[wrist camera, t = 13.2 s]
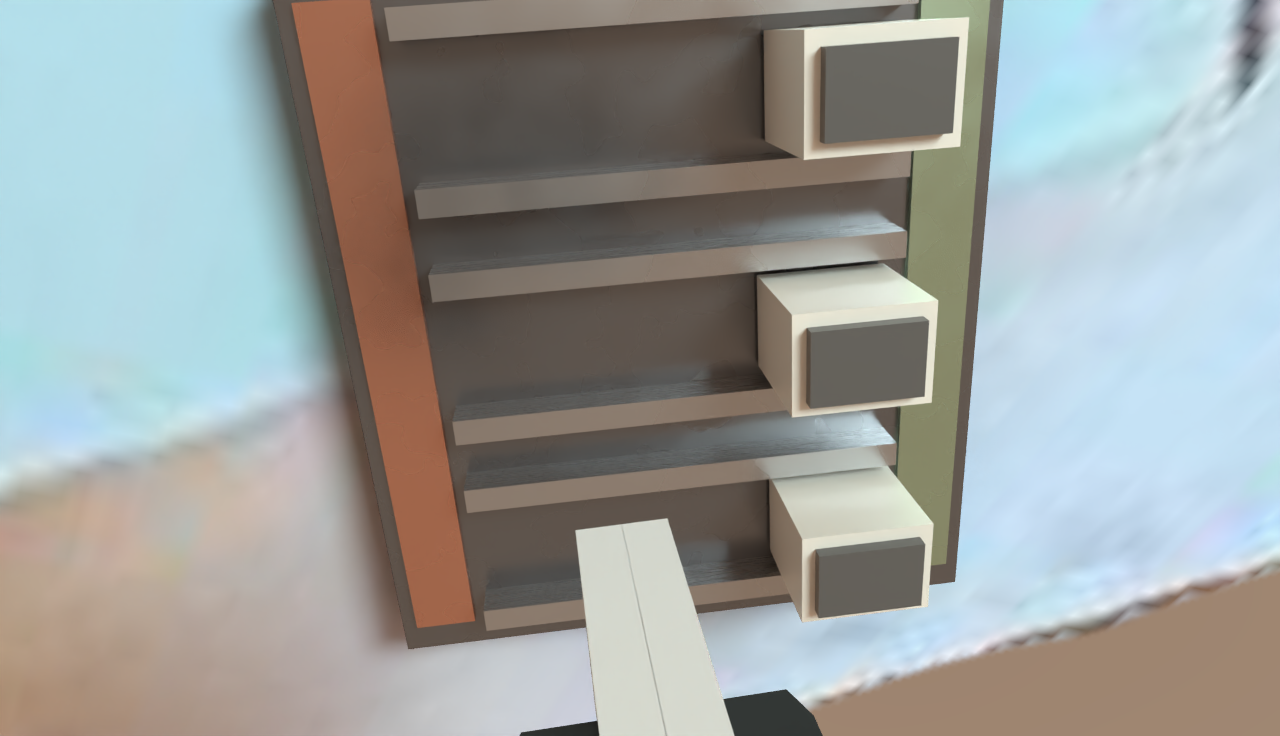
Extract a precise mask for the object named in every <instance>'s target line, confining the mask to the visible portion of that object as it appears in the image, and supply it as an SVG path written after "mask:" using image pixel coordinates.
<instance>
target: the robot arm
mask: <svg viewBox="0 0 1280 736" xmlns="http://www.w3.org/2000/svg"><path fill="white" fill-rule="evenodd" d="M575 531H576V540H577V549H578V558H579V567H580V576H581V585H582V594H583V603H584V612H585V621H586V630H587V639H588V648H589V657H590V666H591V674H592V683H593V691H594V700H595V709H596V717H597V721H593V722H587V723H580V724H574V725H567V726H561V727H554V728H548V729H541V730H535V731H528V732H522V733H521V734H520V736H822V733H821V731H820V729H819V727H818V724H817V722H816V720H815V718H814V716H813V715H812V714H811V713H810V712H809V711H808V710H807V709H806V708H805V707H804V706H803V705H802V704H801V703H800V702H799V701H798V700H797V699H796V698H795V697H794V696H793V695H792V694H790V693H789V692H788V691H787V690H780V691H773V692H767V693H760V694H754V695H747V696H740V697H734V698H727V699H723V697H722V694H721V691H720V687H719V684H718V681H717V678H716V674H715V671H714V668H713V665H712V662H711V658H710V655H709V652H708V649H707V645H706V642H705V639H704V636H703V632H702V629H701V626H700V623H699V619H698V616H697V613H696V610H695V607H694V603H693V600H692V597H691V594H690V590H689V587H688V584H687V581H686V577H685V574H684V571H683V568H682V564H681V561H680V558H679V555H678V551H677V548H676V545H675V542H674V539H673V535H672V532H671V529H670V526H669V522H668V519H667V518H666V519H658V520H650V521H643V522H635V523H627V524H620V525H612V526H604V527H597V528H589V529H582V530H575Z"/></svg>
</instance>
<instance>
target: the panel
mask: <svg viewBox="0 0 1280 736" xmlns="http://www.w3.org/2000/svg"><path fill="white" fill-rule="evenodd" d="M1003 1H1004V0H273V3H274V8H275V13H276V18H277V22H278V27H279V32H280V37H281V42H282V46H283V51H284V56H285V61H286V66H287V70H288V75H289V80H290V85H291V89H292V94H293V99H294V104H295V109H296V113H297V118H298V123H299V128H300V133H301V137H302V142H303V147H304V152H305V157H306V161H307V166H308V171H309V176H310V180H311V185H312V190H313V195H314V200H315V204H316V209H317V214H318V219H319V224H320V228H321V233H322V238H323V243H324V248H325V252H326V257H327V262H328V267H329V271H330V276H331V281H332V286H333V291H334V295H335V300H336V305H337V310H338V315H339V319H340V324H341V329H342V334H343V339H344V343H345V348H346V353H347V358H348V363H349V367H350V372H351V377H352V382H353V386H354V391H355V396H356V401H357V406H358V410H359V415H360V420H361V425H362V430H363V434H364V439H365V444H366V449H367V454H368V458H369V463H370V468H371V473H372V477H373V482H374V487H375V492H376V497H377V501H378V506H379V511H380V516H381V521H382V525H383V530H384V535H385V540H386V545H387V549H388V554H389V559H390V564H391V568H392V573H393V578H394V583H395V588H396V592H397V597H398V602H399V607H400V612H401V616H402V621H403V626H404V631H405V636H406V640H407V645H408V649H414V648H422V647H430V646H438V645H447V644H455V643H463V642H471V641H479V640H487V639H495V638H503V637H511V636H520V635H528V634H536V633H544V632H552V631H560V630H568V629H576V628H584V627H586V621H585V612H584V603H583V594H582V585H581V576H580V567H579V558H578V549H577V540H576V531H575V530H582V529H589V528H597V527H604V526H612V525H620V524H627V523H635V522H643V521H650V520H658V519H666V518H667V519H668V522H669V526H670V529H671V532H672V535H673V539H674V542H675V545H676V548H677V551H678V555H679V558H680V561H681V564H682V568H683V571H684V574H685V577H686V581H687V584H688V587H689V590H690V594H691V597H692V600H693V603H694V607H695V610H696V613H697V614H698V613H706V612H714V611H722V610H730V609H738V608H746V607H754V606H763V605H771V604H779V603H787V602H793V601H792V598H791V596H790V594H789V592H788V589H787V587H786V585H785V582H784V580H783V578H782V576H781V573H780V571H779V569H778V567H777V564H776V562H775V560H774V557H773V555H772V553H771V551H770V504H769V479H775V478H784V477H792V476H801V475H810V474H819V473H828V472H837V471H846V470H855V469H864V468H872V467H881V466H888V467H889V468H890V470H891V471H892V472H893V473H894V475H895V476H896V477H897V478H898V480H899V481H900V482H901V484H902V485H903V486H904V487H905V489H906V490H907V491H908V492H909V494H910V495H911V496H912V497H913V499H914V500H915V501H916V502H917V504H918V505H919V506H920V507H921V509H922V510H923V511H924V512H925V514H926V515H927V516H928V517H929V519H930V520H931V521H932V522H933V524H934V525H933V539H932V554H931V568H930V582H929V585H933V584H941V583H949V582H955V575H956V563H957V551H958V539H959V527H960V515H961V503H962V491H963V479H964V468H965V456H966V444H967V432H968V420H969V408H970V396H971V384H972V372H973V360H974V348H975V336H976V324H977V312H978V300H979V288H980V276H981V264H982V252H983V240H984V229H985V217H986V205H987V193H988V181H989V169H990V157H991V145H992V133H993V121H994V109H995V97H996V85H997V73H998V61H999V49H1000V37H1001V25H1002V13H1003ZM965 17H969V28H968V42H967V57H966V71H965V85H964V99H963V113H962V128H961V142H960V147H950V148H938V149H926V150H914V151H903V152H891V153H879V154H867V155H856V156H844V157H832V158H820V159H809V160H803V159H801V158H799V157H797V156H795V155H793V154H791V153H789V152H787V151H784V150H782V149H780V148H778V147H776V146H774V145H772V144H770V143H768V142H766V141H765V106H764V30H773V29H787V28H800V27H814V26H827V25H841V24H855V23H868V22H882V21H895V20H914V19H940V18H965ZM880 263H884V264H885V265H887V266H888V267H890V268H891V269H893V270H894V271H895V272H897V273H898V274H900V275H901V276H903V277H904V278H906V279H907V280H909V281H910V282H912V283H913V284H915V285H916V286H918V287H919V288H921V289H922V290H924V291H925V292H927V293H928V294H930V295H931V296H933V297H934V298H935V299H937V300H938V314H937V329H936V344H935V360H934V375H933V390H932V403H924V404H914V405H905V406H896V407H887V408H877V409H868V410H859V411H849V412H840V413H831V414H821V415H812V416H803V417H793V418H792V417H791V415H790V414H789V412H788V411H787V409H786V408H785V406H784V404H783V403H782V401H781V400H780V398H779V397H778V395H777V394H776V392H775V391H774V389H773V387H772V386H771V384H770V383H769V381H768V380H767V378H766V377H765V375H764V374H763V372H762V370H761V369H760V367H759V366H758V313H757V275H764V274H775V273H785V272H796V271H806V270H817V269H827V268H838V267H849V266H859V265H870V264H880Z"/></svg>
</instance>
